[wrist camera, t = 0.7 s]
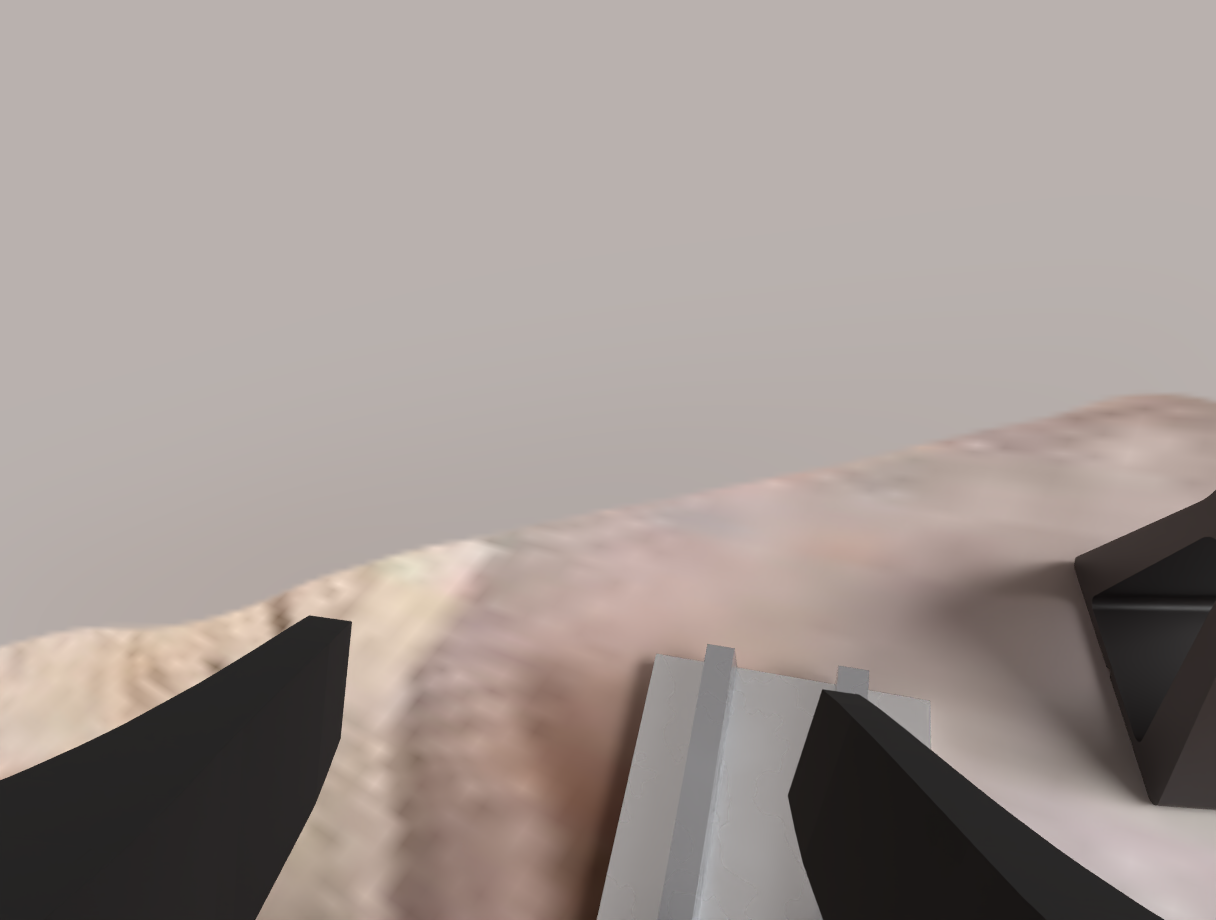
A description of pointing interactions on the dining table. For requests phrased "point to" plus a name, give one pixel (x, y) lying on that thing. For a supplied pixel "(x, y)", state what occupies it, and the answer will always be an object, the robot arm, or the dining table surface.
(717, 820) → the track
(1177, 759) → the phone stand
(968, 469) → the dining table surface
